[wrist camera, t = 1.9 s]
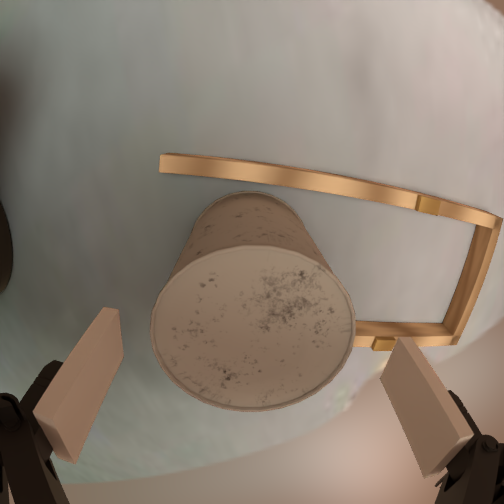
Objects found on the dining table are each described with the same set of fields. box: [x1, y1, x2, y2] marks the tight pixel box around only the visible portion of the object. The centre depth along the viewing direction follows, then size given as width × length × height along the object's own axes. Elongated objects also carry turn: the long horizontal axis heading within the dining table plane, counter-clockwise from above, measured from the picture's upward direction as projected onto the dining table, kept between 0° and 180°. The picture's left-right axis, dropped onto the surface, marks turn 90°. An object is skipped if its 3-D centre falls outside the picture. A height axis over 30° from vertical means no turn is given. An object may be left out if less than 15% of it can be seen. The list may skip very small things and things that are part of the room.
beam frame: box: [159, 153, 503, 351], centre depth 24 cm, size 30×14×3 cm, turn 82°
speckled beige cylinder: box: [150, 191, 356, 412], centre depth 20 cm, size 10×10×12 cm
